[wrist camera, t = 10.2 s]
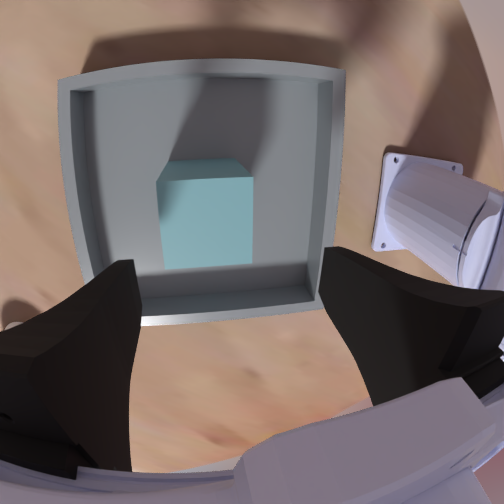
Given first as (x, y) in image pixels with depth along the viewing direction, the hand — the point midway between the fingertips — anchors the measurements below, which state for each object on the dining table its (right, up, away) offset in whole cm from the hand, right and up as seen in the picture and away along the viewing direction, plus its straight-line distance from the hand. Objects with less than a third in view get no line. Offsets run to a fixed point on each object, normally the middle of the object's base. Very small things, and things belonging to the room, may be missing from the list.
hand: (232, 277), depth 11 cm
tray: (-3, +5, +8) cm, 9 cm away
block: (-2, +5, +7) cm, 9 cm away
